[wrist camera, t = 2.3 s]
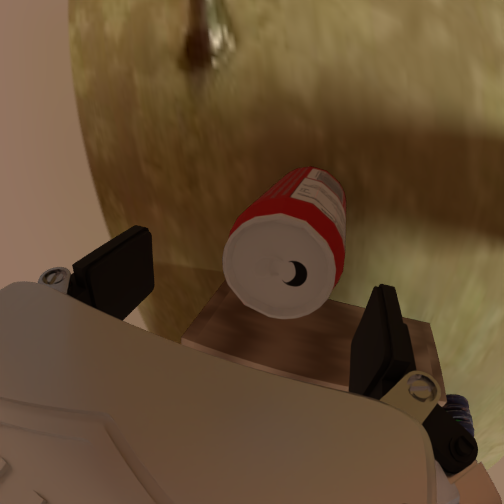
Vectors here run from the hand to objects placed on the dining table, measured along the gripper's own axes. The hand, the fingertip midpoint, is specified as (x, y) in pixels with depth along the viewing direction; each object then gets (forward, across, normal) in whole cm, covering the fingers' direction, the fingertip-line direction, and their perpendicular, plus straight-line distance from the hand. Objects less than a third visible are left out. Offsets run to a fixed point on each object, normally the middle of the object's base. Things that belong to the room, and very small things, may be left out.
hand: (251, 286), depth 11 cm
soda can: (+13, -1, 0) cm, 13 cm away
